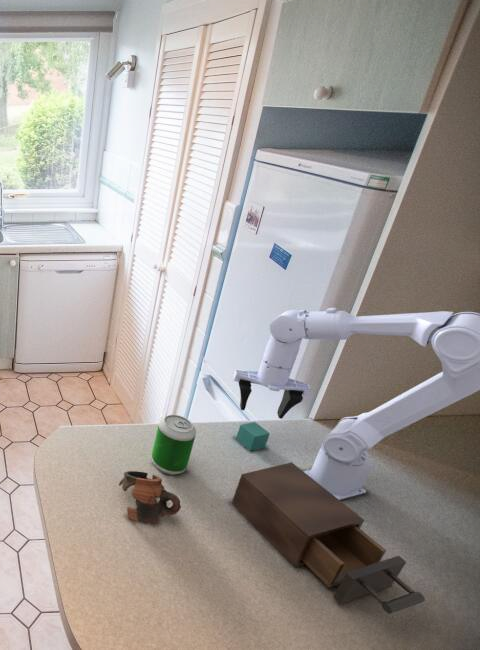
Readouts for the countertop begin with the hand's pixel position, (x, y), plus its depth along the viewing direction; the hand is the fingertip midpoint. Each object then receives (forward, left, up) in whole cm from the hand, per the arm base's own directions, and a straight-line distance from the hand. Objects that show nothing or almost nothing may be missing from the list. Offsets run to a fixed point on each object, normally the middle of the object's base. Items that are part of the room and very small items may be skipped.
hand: (260, 411), depth 106 cm
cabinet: (+12, +21, -9) cm, 26 cm away
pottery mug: (+36, +10, -10) cm, 39 cm away
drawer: (+12, +31, -9) cm, 35 cm away
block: (0, 0, -9) cm, 9 cm away
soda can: (+24, +1, -10) cm, 26 cm away
